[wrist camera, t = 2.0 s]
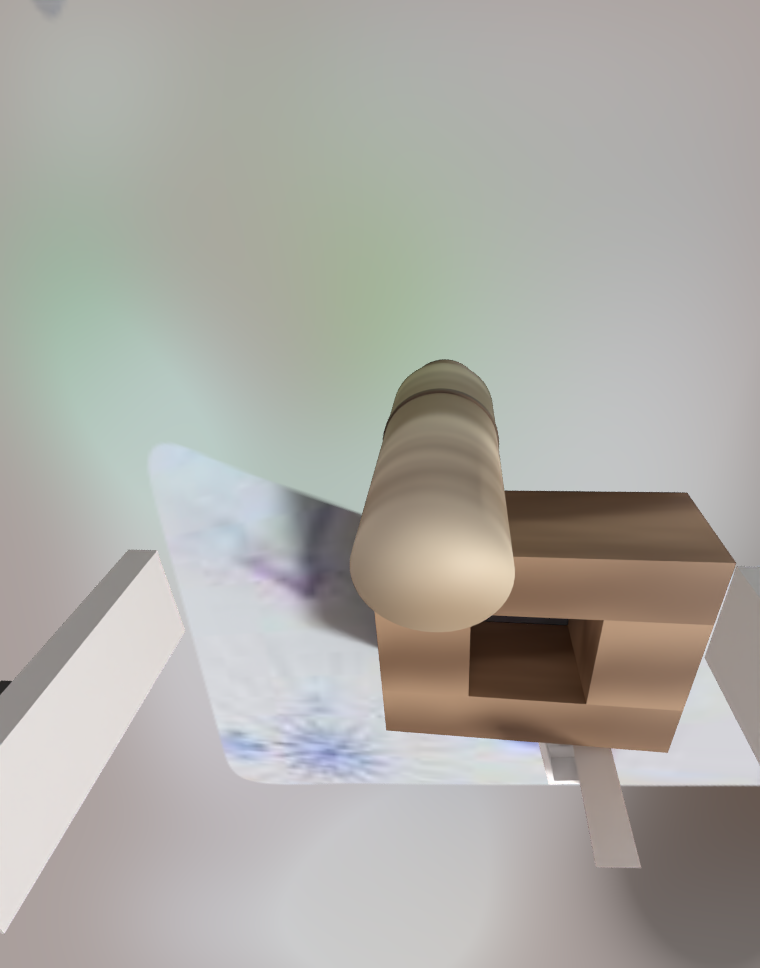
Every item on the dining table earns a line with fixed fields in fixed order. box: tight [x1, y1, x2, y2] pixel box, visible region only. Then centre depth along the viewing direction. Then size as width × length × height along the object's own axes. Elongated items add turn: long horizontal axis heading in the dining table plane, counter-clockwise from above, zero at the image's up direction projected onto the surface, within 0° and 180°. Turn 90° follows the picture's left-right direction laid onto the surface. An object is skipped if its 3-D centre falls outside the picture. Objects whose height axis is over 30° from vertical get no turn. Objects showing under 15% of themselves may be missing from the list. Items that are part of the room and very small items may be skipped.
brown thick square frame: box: [374, 491, 736, 753], centre depth 26 cm, size 12×14×5 cm
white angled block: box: [538, 742, 641, 868], centre depth 29 cm, size 4×10×9 cm, turn 17°
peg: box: [350, 360, 515, 632], centre depth 18 cm, size 4×4×12 cm
